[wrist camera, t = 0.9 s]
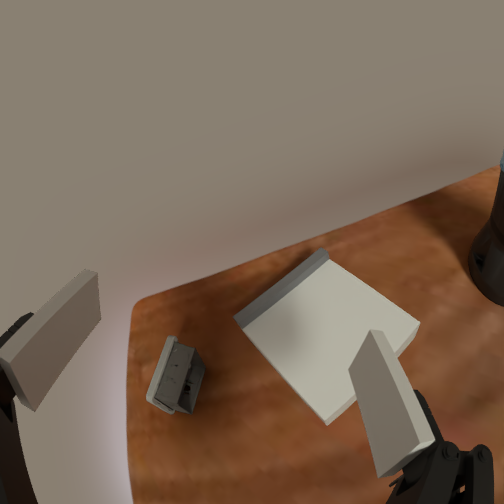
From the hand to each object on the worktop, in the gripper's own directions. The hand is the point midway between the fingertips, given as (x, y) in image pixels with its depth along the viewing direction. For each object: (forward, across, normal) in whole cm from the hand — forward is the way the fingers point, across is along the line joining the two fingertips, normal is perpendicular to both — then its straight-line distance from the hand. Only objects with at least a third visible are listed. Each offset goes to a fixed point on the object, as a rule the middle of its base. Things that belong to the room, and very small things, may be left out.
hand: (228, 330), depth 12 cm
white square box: (+19, +14, -14) cm, 27 cm away
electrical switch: (+16, -3, -25) cm, 30 cm away
